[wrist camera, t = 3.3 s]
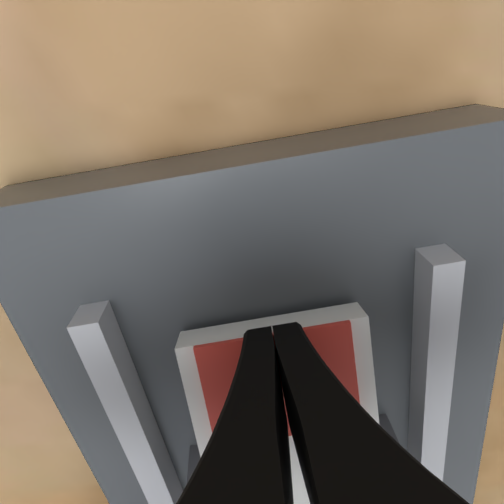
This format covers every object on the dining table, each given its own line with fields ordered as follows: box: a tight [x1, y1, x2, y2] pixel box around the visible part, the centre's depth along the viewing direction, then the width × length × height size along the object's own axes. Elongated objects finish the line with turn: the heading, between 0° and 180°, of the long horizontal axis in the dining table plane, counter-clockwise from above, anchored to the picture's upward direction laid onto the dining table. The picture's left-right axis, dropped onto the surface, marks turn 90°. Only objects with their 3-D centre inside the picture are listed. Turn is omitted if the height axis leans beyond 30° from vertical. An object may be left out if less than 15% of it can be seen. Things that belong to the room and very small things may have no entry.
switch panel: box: [0, 104, 504, 504], centre depth 14 cm, size 20×14×5 cm
